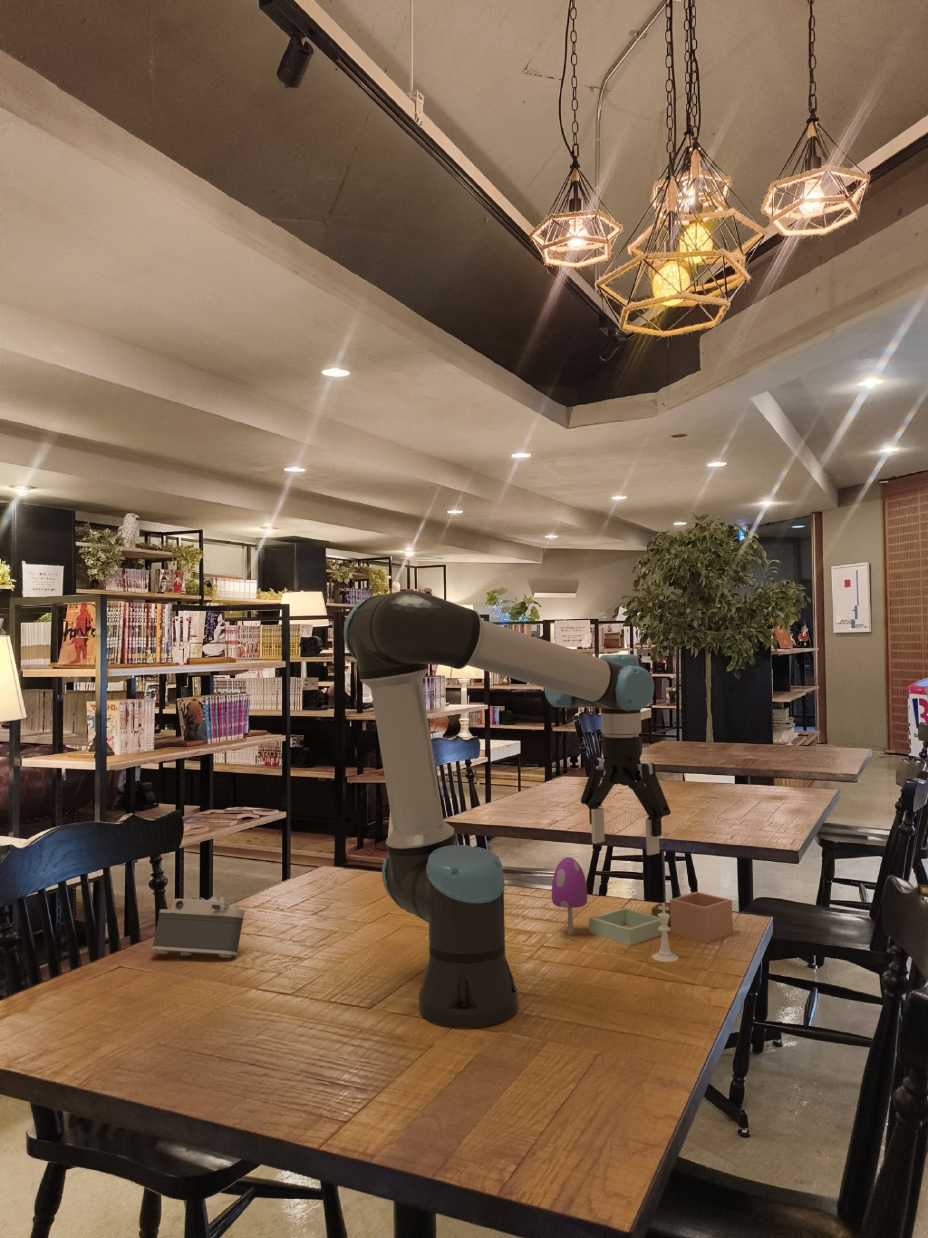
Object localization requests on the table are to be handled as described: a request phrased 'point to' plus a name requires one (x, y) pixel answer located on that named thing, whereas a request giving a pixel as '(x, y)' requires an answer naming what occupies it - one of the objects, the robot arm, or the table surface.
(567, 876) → the toy
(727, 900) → the square terracotta box
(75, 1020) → the table surface
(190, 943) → the camera
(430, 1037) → the table surface
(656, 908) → the walnut block
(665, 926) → the chess piece
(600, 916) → the green tray
